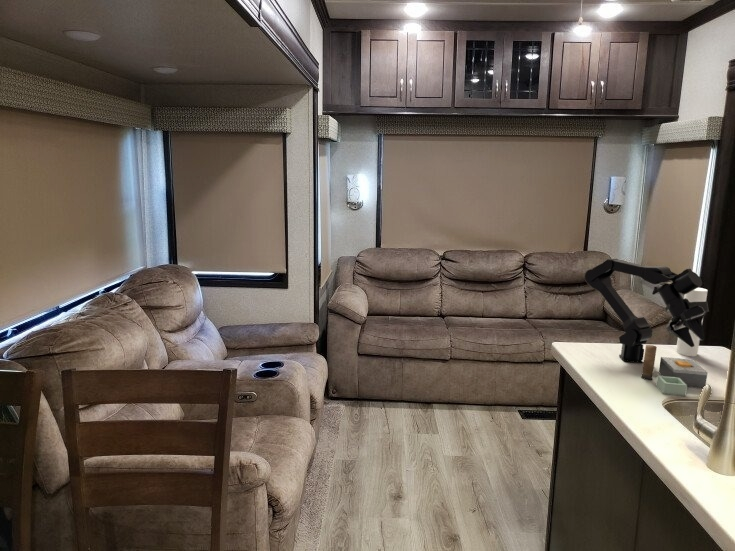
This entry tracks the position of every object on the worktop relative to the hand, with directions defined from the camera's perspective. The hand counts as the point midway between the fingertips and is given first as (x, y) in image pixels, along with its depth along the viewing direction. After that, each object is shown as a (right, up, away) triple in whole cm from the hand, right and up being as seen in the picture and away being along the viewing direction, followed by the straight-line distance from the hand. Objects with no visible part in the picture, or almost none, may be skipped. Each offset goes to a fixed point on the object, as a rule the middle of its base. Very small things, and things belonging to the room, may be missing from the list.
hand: (698, 343), depth 183 cm
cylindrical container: (+14, -8, +31) cm, 35 cm away
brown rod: (-15, -12, +4) cm, 19 cm away
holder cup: (-12, -14, -6) cm, 20 cm away
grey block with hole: (-4, -12, +3) cm, 13 cm away
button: (-4, -10, +3) cm, 11 cm away
